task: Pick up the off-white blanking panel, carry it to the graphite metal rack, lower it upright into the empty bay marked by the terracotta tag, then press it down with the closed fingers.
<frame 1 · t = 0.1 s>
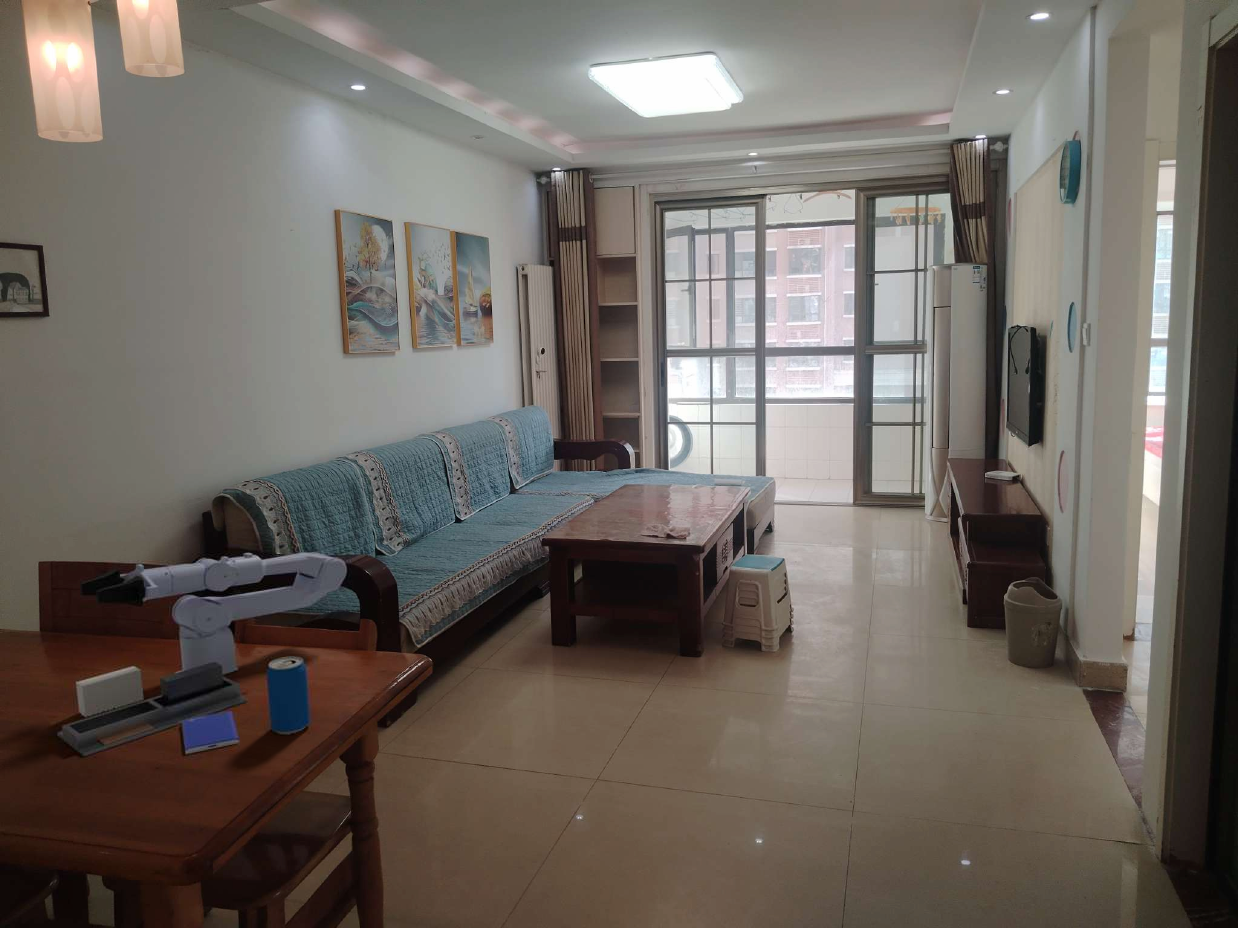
hand: (89, 592, 165), 22 cm above the table, tool horizontal, fingers open, 7 cm apart
beverage can: (291, 729, 158), on the table
hard drive: (210, 737, 156), on the table
drive rack: (156, 717, 163), on the table
blanking panel: (112, 706, 168), on the table
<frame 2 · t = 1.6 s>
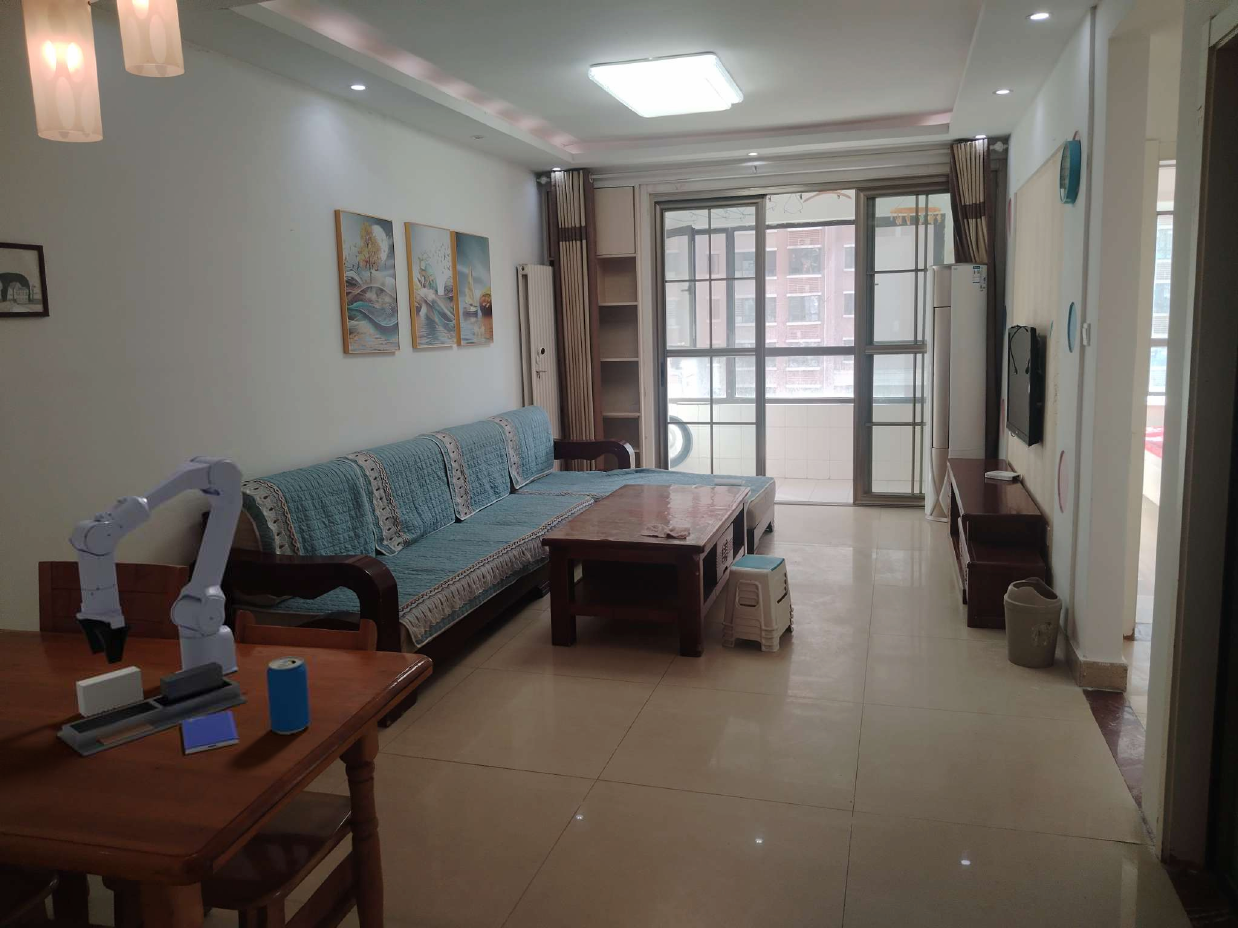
hand: (106, 657, 167), 9 cm above the table, tool pointing down, fingers open, 7 cm apart
nothing on the table moved.
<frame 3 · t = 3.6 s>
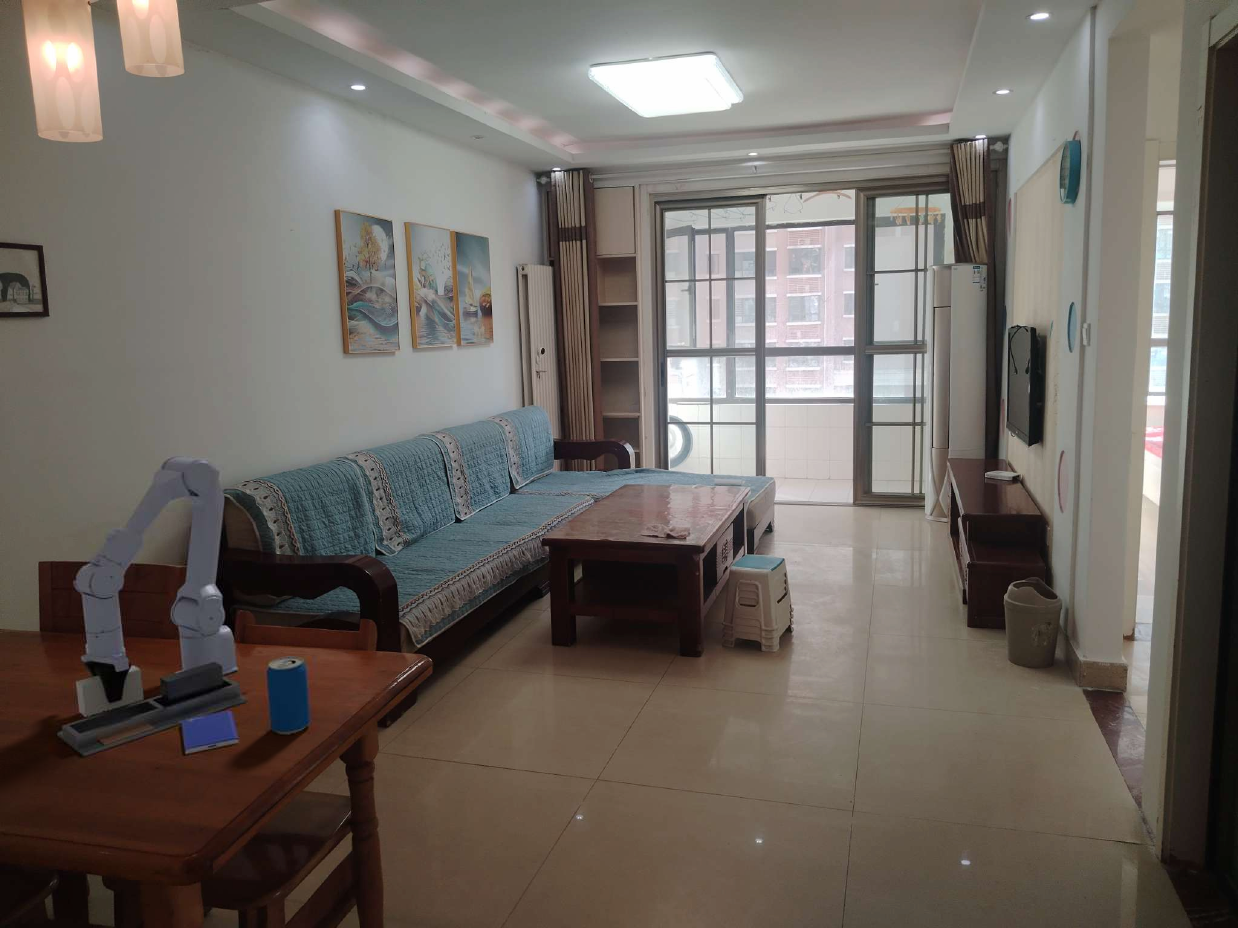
hand: (111, 698, 168), 1 cm above the table, tool pointing down, fingers closed on blanking panel, 3 cm apart
blanking panel: (112, 705, 168), on the table, touching gripper
everything else where it was.
when the fingers open (3 cm above the table, at t = 7.4 s): blanking panel stays where it is, resting on drive rack.
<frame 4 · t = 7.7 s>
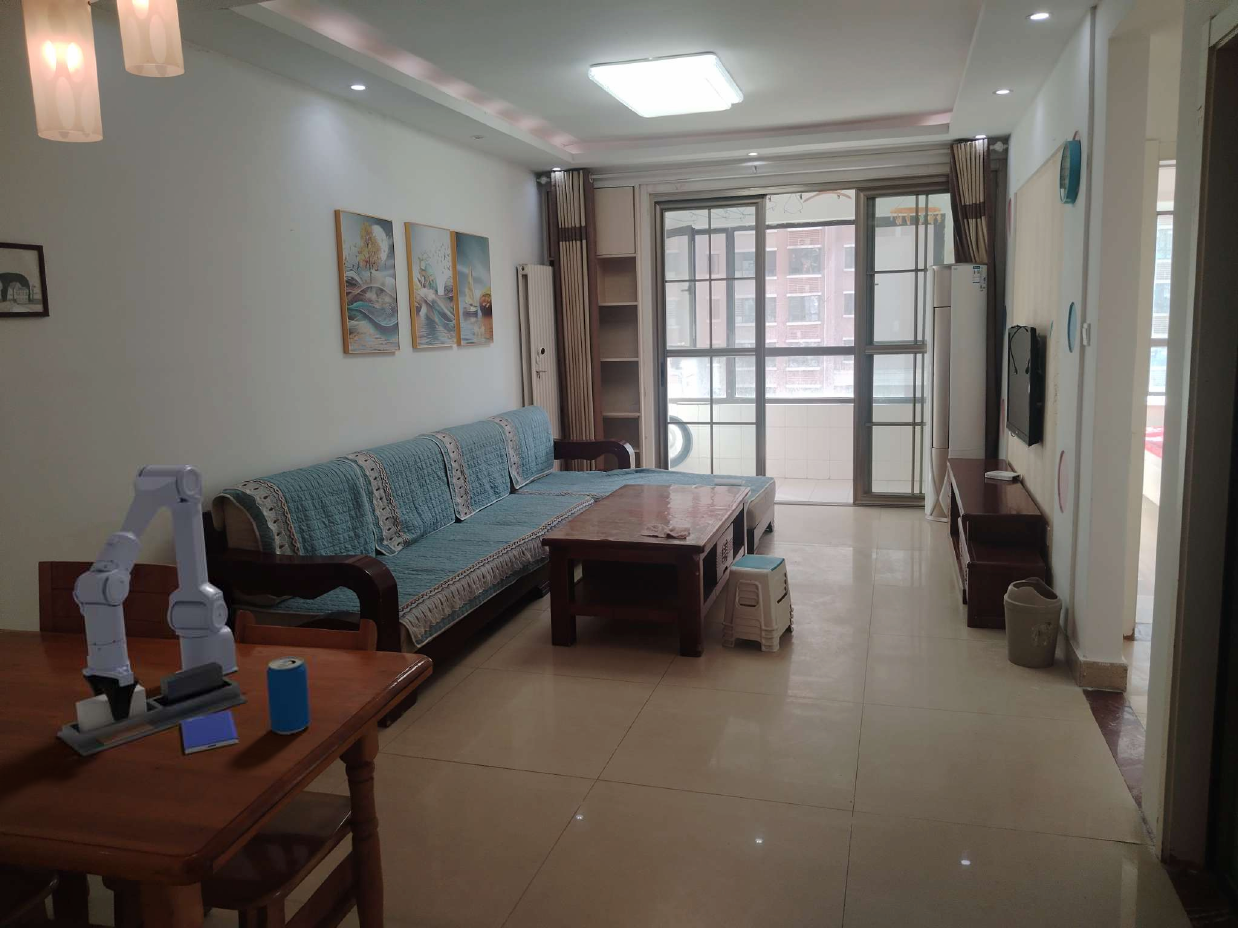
hand: (114, 714, 157), 3 cm above the table, tool pointing down, fingers open, 5 cm apart
blanking panel: (114, 728, 157), point 1 cm above the table, touching drive rack
everything else where it was.
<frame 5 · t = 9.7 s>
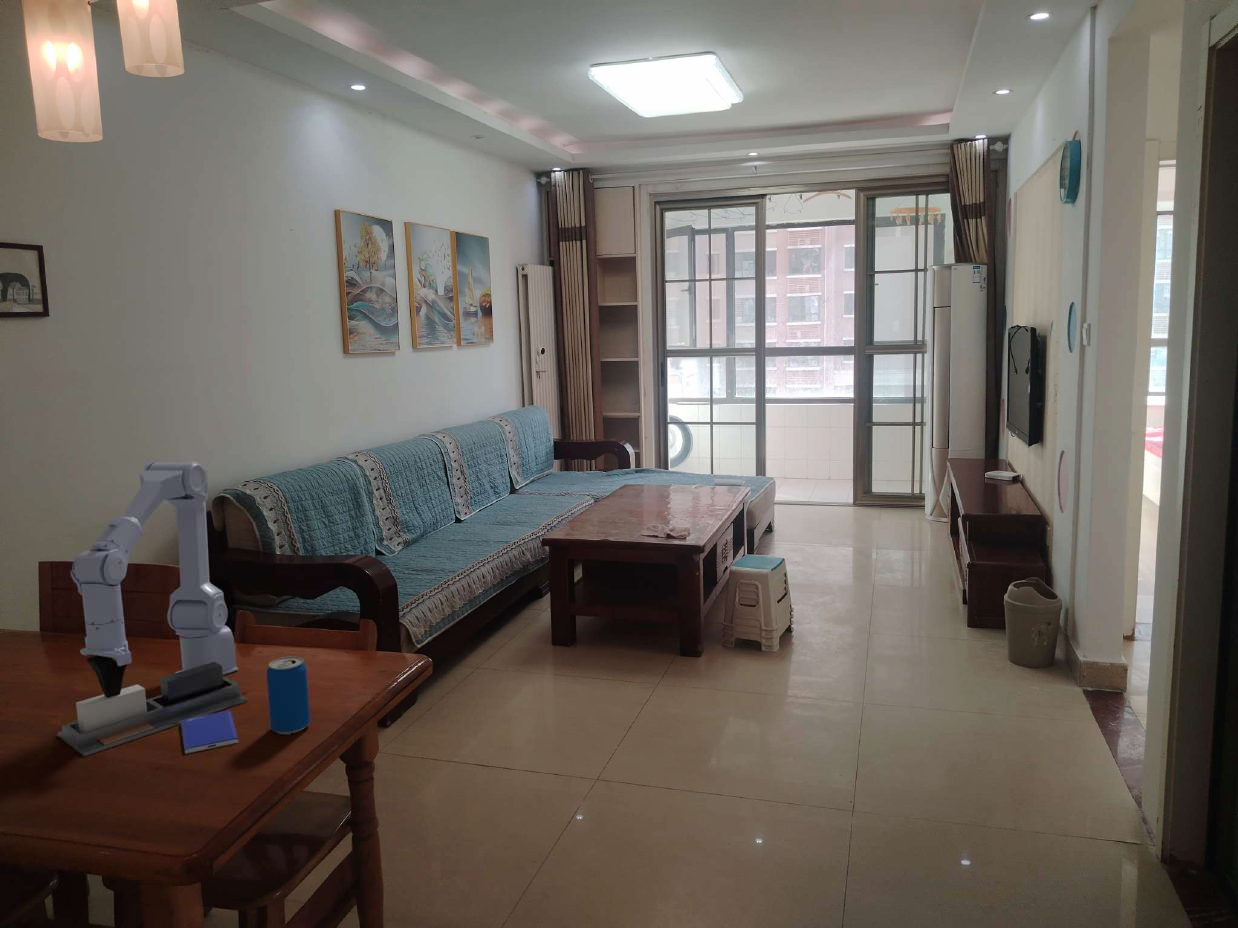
hand: (112, 695, 157), 7 cm above the table, tool pointing down, fingers closed, pressing on blanking panel
blanking panel: (114, 728, 157), point 1 cm above the table, touching drive rack, gripper
everything else where it was.
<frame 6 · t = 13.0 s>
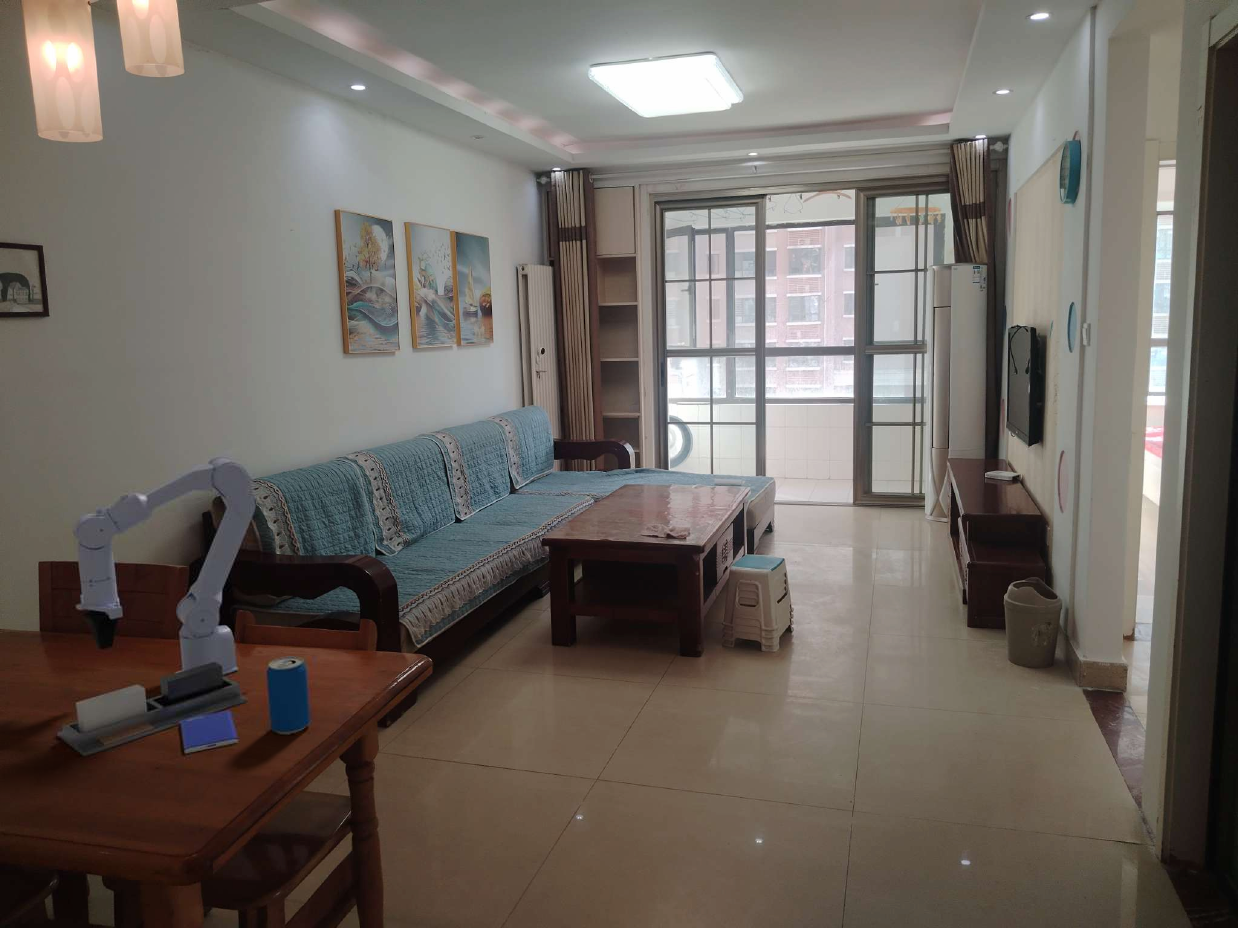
hand: (105, 647, 172), 9 cm above the table, tool pointing down, fingers closed
blanking panel: (114, 728, 157), point 1 cm above the table, touching drive rack
everything else where it was.
at the end: blanking panel 0.2 cm from the target spot on the drive rack, point 0.6 cm above the drive rack's base; blanking panel tilted 0°; the gripper is holding nothing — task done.
